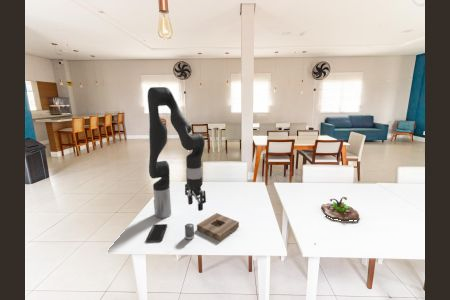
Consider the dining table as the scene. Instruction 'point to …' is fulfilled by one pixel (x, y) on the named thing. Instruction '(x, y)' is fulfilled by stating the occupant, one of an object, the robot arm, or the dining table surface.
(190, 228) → the connector plug
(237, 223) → the end holder
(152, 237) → the phone
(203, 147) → the robot arm
